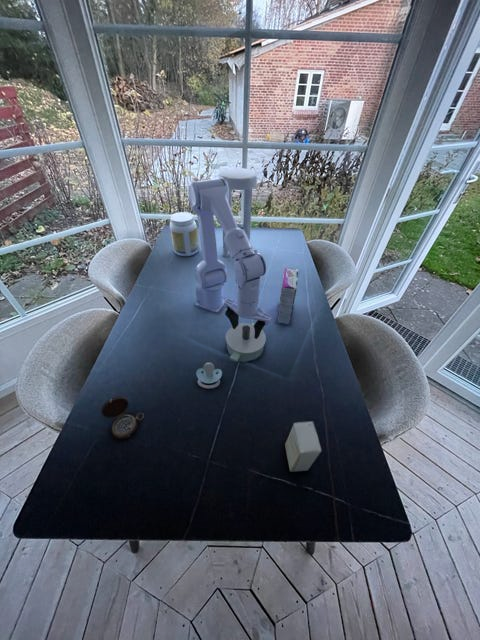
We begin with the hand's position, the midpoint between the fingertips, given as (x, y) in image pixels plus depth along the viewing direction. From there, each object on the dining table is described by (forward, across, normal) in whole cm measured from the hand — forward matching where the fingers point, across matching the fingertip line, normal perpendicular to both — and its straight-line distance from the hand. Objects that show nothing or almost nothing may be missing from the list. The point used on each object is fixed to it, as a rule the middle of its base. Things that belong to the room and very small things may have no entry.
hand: (246, 331), depth 81 cm
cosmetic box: (+8, -27, +23) cm, 36 cm away
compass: (+8, +13, +37) cm, 40 cm away
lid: (+3, 0, 0) cm, 3 cm away
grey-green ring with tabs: (+7, 0, 0) cm, 7 cm away
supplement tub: (+8, +56, -38) cm, 68 cm away
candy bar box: (+8, -4, -21) cm, 23 cm away
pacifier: (+8, +3, +16) cm, 18 cm away
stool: (+8, +35, -51) cm, 62 cm away
